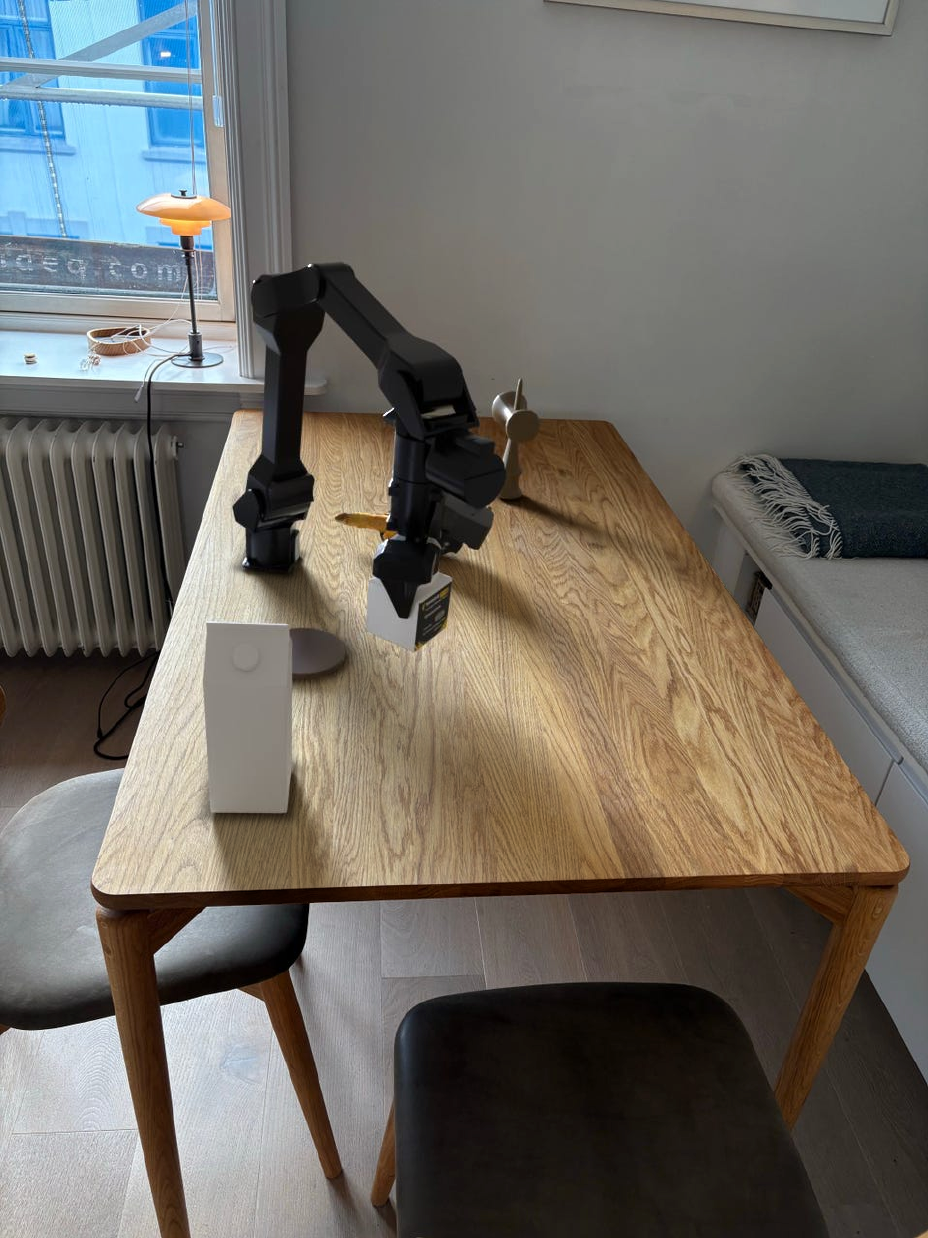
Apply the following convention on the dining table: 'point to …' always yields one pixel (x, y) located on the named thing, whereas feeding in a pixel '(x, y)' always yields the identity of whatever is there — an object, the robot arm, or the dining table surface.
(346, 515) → the fried shrimp in bowl
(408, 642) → the medicine bottle
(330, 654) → the coaster
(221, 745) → the milk carton
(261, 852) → the dining table surface
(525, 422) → the kendama
